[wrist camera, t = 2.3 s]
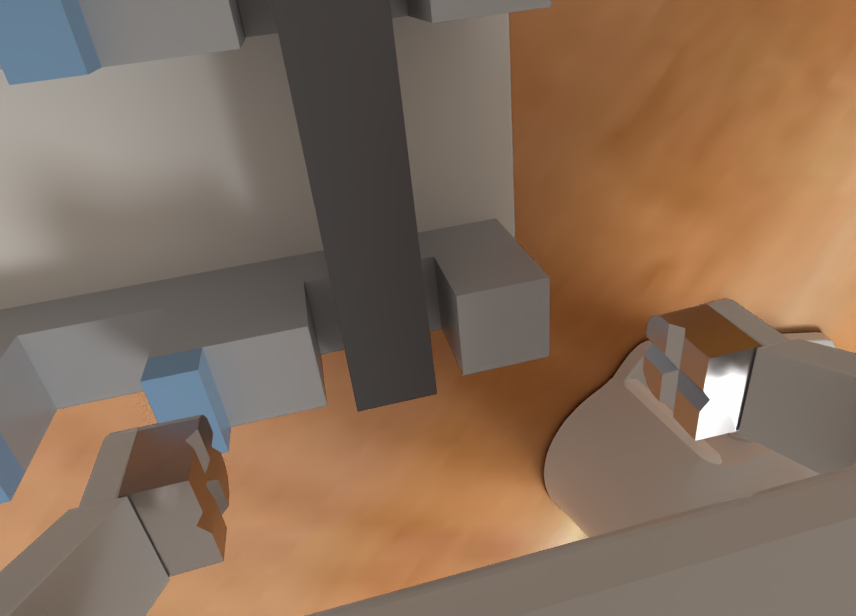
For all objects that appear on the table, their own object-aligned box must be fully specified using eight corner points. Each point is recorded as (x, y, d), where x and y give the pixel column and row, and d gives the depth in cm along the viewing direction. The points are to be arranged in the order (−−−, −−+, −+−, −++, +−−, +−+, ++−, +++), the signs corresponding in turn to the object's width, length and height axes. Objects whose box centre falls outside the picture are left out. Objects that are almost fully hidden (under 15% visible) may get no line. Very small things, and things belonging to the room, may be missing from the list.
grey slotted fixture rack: (496, -144, 24) (610, -207, 16) (511, 290, 34) (584, 389, 26) (-302, -69, 20) (-701, -99, 12) (-15, 397, 30) (-122, 552, 22)
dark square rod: (354, -148, 19) (369, -172, 16) (420, 350, 30) (436, 393, 26) (243, -138, 19) (237, -160, 16) (349, 365, 29) (357, 411, 26)
